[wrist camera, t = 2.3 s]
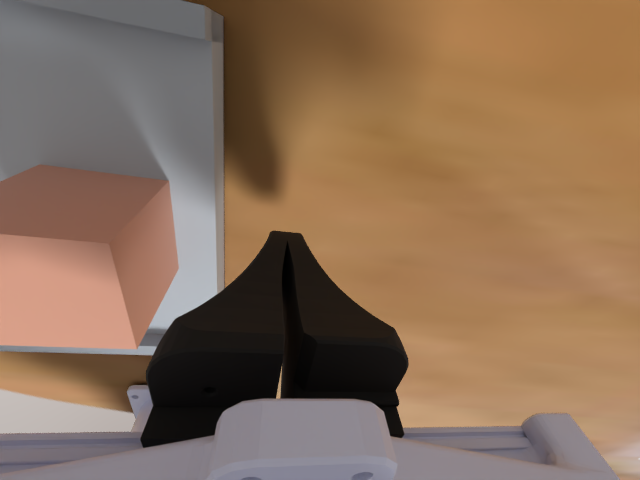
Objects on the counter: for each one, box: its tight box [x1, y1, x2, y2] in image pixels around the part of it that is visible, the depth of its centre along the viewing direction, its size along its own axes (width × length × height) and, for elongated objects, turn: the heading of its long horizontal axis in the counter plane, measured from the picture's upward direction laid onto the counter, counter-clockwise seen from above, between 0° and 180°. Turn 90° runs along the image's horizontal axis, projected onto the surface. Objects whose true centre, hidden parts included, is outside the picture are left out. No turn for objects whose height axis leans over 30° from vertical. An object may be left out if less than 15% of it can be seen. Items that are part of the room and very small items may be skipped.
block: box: [0, 164, 179, 349], centre depth 10 cm, size 4×4×4 cm
